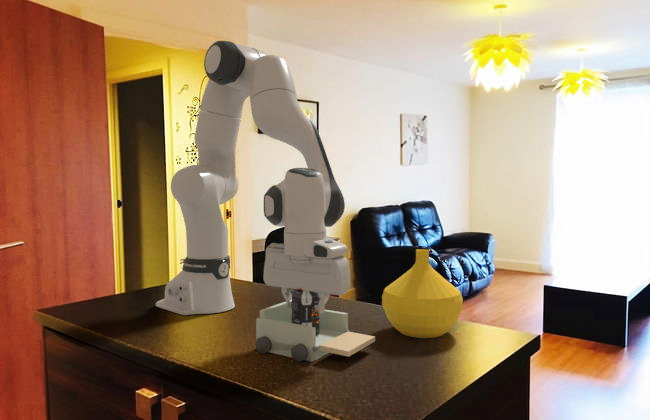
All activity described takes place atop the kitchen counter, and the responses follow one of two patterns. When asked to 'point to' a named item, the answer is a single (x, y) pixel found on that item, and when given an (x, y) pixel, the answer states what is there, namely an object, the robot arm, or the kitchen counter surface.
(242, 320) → the kitchen counter surface
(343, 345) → the panel
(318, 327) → the pill bottle
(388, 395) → the kitchen counter surface
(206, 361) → the kitchen counter surface
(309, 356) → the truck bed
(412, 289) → the vase
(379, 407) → the kitchen counter surface
